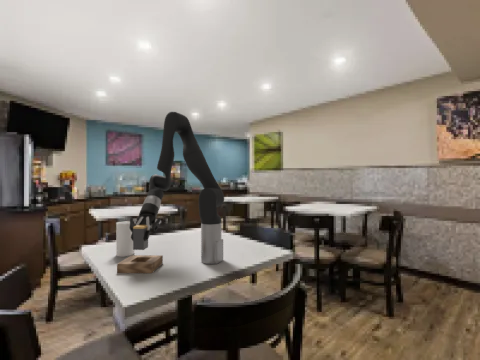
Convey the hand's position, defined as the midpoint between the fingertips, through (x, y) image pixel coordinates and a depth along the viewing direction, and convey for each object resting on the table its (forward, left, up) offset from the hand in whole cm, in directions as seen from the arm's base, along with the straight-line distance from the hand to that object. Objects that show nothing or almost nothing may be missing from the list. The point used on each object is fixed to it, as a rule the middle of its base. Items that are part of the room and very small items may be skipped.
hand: (138, 239), depth 102 cm
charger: (+1, -2, -4) cm, 4 cm away
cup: (+24, -15, -12) cm, 30 cm away
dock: (+1, -2, -12) cm, 12 cm away
